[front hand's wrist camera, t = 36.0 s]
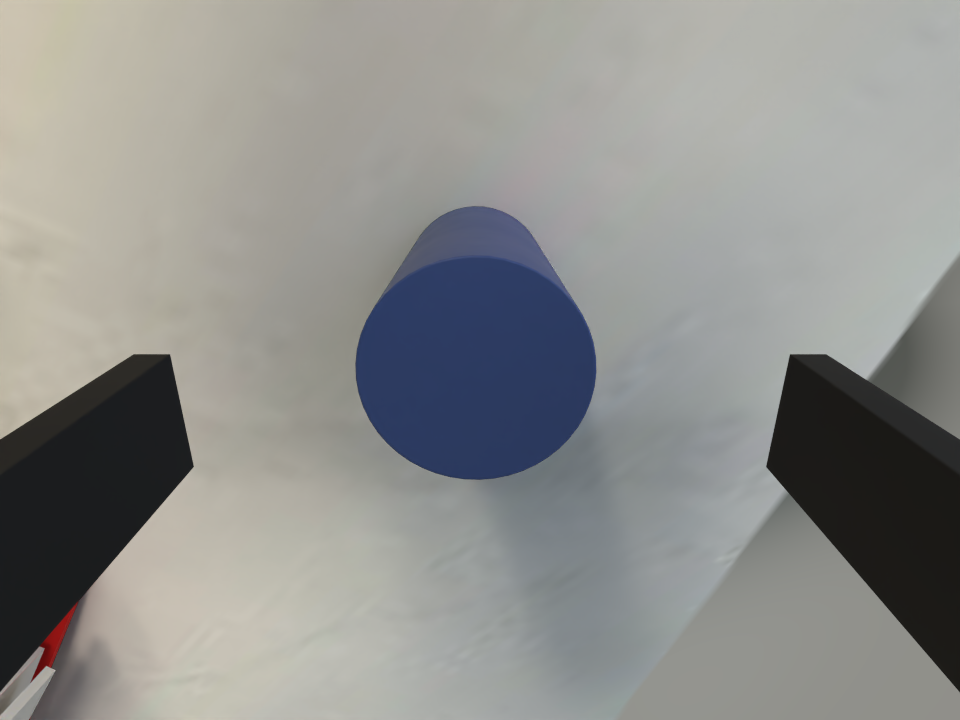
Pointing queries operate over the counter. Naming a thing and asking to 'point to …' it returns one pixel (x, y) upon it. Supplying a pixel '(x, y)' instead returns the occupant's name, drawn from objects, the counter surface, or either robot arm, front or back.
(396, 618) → the counter surface
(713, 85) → the counter surface
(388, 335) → the can
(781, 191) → the counter surface
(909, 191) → the counter surface
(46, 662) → the toy
